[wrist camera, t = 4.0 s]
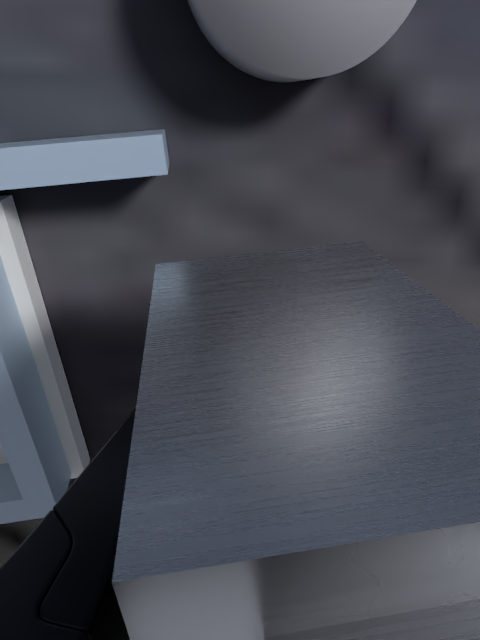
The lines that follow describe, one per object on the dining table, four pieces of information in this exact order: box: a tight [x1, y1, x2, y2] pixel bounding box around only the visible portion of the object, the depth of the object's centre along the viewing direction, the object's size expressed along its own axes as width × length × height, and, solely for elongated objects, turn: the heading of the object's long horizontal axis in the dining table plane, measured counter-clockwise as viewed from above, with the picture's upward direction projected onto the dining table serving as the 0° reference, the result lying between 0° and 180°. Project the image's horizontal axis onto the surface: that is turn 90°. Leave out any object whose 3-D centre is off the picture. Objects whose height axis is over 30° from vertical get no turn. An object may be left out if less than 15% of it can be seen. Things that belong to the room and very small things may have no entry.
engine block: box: [112, 242, 480, 640], centre depth 7 cm, size 5×4×8 cm
